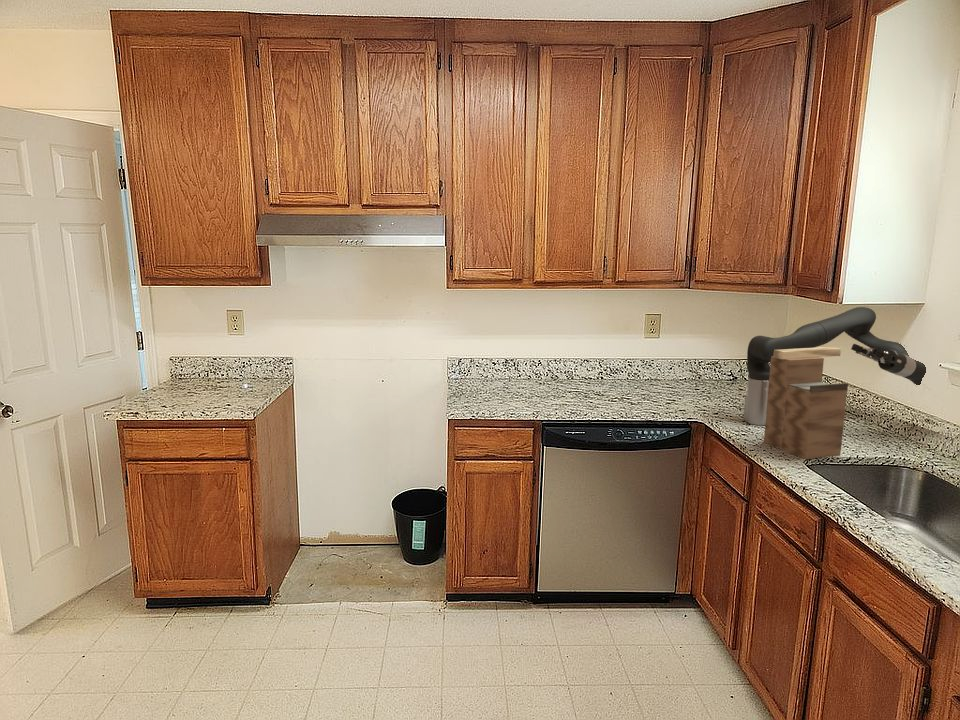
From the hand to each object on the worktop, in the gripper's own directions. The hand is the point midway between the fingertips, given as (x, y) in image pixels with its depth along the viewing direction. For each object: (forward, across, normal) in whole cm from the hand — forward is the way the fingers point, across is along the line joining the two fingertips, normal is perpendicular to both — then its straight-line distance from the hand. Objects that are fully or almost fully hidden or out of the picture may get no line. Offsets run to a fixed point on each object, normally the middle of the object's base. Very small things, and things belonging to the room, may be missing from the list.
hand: (862, 348), depth 212 cm
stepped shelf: (+14, +8, +39) cm, 42 cm away
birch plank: (+21, +2, +10) cm, 23 cm away
